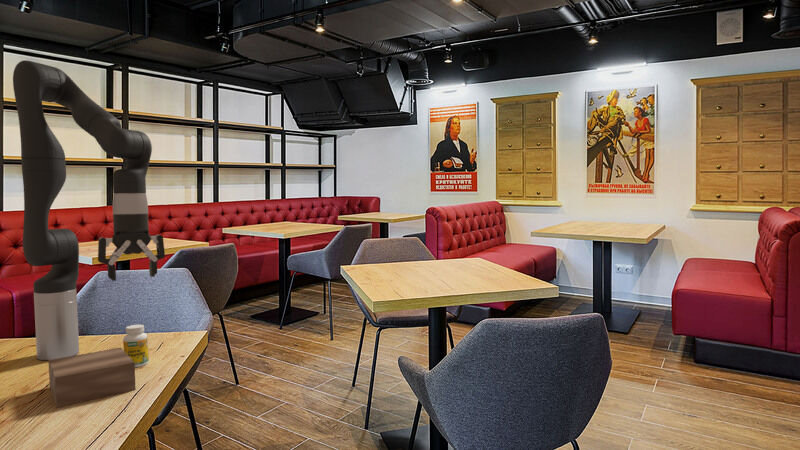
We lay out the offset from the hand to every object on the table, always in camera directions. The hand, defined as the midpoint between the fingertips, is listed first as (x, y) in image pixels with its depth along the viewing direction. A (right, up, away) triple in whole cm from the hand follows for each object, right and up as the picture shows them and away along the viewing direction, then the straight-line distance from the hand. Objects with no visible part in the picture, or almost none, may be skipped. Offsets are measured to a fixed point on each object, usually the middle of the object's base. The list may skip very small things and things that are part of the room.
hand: (133, 278), depth 123 cm
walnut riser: (-1, -22, -14) cm, 27 cm away
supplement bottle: (0, -22, +1) cm, 22 cm away
